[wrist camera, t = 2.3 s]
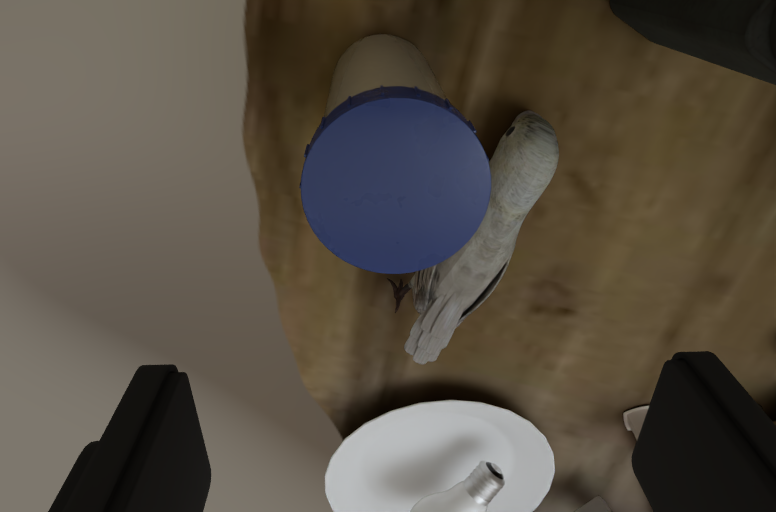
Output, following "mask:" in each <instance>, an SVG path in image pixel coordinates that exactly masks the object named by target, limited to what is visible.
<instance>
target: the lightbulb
mask: <svg viewBox="0 0 776 512" xmlns="http://www.w3.org/2000/svg"><path fill="white" fill-rule="evenodd" d="M504 485H505V480H504V476H503V474H502V471H501V469H500V468H499V467H498V466H497V465H496V464H494V463H491V462H486V461H480V463H479V465H477V466H476V469H474V470H473V472H472V473H470V476H468V477H467V478H466V479H465V480H464V481H461V482H459V483H457V484H456V485H454V486H453V487H452V488H450V489H449V490H446V491H442V492H437V493H433V494H430V495H427V496H425V497H423V498H422V499H420V500H419V501H418V502H417V503H416V504H415V505H414V506H413V507H412V509H411V510H410V512H486V511H487V507H488V504H489V503H490V502H491V500H492V499H493V498H494V496H496V495H497V493H498V492H499V491H500V489H502V488H503V486H504Z"/></svg>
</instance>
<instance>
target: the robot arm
mask: <svg viewBox="0 0 776 512" xmlns="http://www.w3.org/2000/svg"><path fill="white" fill-rule="evenodd" d="M632 467H633V470H634V473H635V475H636V477H637V479H638V481H639V483H640V485H641V487H642V489H643V491H644V493H645V495H646V497H647V499H648V501H649V503H650V505H651V507H652V509H653V511H654V512H776V425H775V424H774V423H773V422H772V421H771V419H770V418H769V417H768V416H767V415H766V414H765V412H764V411H763V410H762V409H761V408H760V407H759V405H758V404H757V403H756V402H755V401H754V400H753V398H752V397H751V396H750V395H749V394H748V392H747V391H746V390H745V389H744V388H743V387H742V385H741V384H740V383H739V382H738V381H737V380H736V378H735V377H734V376H733V375H732V374H731V373H730V371H729V370H728V369H727V368H726V367H725V365H724V364H723V363H722V362H721V361H720V360H719V358H718V357H717V356H716V355H714V354H713V353H711V352H709V351H705V352H678V353H676V354H674V355H673V357H672V359H671V360H667V361H666V362H665V364H664V365H663V368H662V371H661V374H660V377H659V380H658V382H657V385H656V388H655V391H654V394H653V397H652V399H651V402H650V405H649V408H648V411H647V414H646V417H645V419H644V422H643V425H642V428H641V431H640V434H639V437H638V439H637V442H636V445H635V448H634V451H633V454H632ZM210 482H211V468H210V464H209V460H208V455H207V451H206V447H205V444H204V439H203V435H202V432H201V427H200V423H199V420H198V415H197V411H196V407H195V403H194V399H193V395H192V391H191V387H190V383H189V379H188V376H187V374H186V373H185V372H178V370H177V367H176V366H175V365H142V366H140V367H139V368H138V369H137V371H136V373H135V374H134V376H133V378H132V380H131V382H130V384H129V386H128V388H127V390H126V391H125V394H124V395H123V397H122V399H121V401H120V403H119V405H118V407H117V409H116V410H115V412H114V414H113V416H112V418H111V420H110V422H109V424H108V426H107V428H106V430H105V432H104V434H103V435H102V437H101V439H100V441H94V442H91V443H89V444H88V445H87V446H86V447H85V448H84V449H83V451H82V452H81V454H80V455H79V457H78V459H77V460H76V462H75V464H74V466H73V468H72V470H71V471H70V473H69V475H68V477H67V479H66V480H65V482H64V484H63V486H62V488H61V490H60V491H59V493H58V495H57V497H56V499H55V501H54V502H53V504H52V506H51V508H50V510H49V511H48V512H203V510H204V506H205V502H206V499H207V495H208V492H209V488H210Z"/></svg>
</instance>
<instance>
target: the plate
mask: <svg viewBox="0 0 776 512" xmlns="http://www.w3.org/2000/svg"><path fill="white" fill-rule="evenodd" d="M480 461H486V462H491V463H494V464H496V465H497V466H498V467H499V468H500V469H501V471H502V474H503V476H504V480H505V485H504V486H503V488H502V489H500V491H499V492H498V493H497V495H496V496H494V498H493V499H492V500H491V502H490V503H489V504H488V507H487V511H486V512H532V511H534V510H535V509H536V508H537V507H538V506H539V504H540V503H541V501H542V500H543V499H544V497H545V496H546V494H547V493H548V491H549V490H550V486H551V483H552V480H553V477H554V474H555V466H554V454H553V452H552V450H551V448H550V445H549V443H548V441H547V439H546V437H545V436H544V435H543V434H542V433H541V432H540V431H539V430H538V429H537V428H536V427H535V426H534V425H533V424H532V423H531V422H530V421H528V420H526V419H524V418H523V417H521V416H519V415H517V414H515V413H513V412H512V411H510V410H508V409H504V408H501V407H497V406H493V405H490V404H486V403H483V402H474V401H462V400H442V401H431V402H421V403H417V404H413V405H409V406H406V407H402V408H399V409H395V410H391V411H389V412H387V413H385V414H383V415H381V416H379V417H377V418H374V419H372V420H370V421H368V422H366V423H364V424H363V425H362V426H361V427H359V428H358V429H357V430H355V431H354V432H353V433H352V434H350V435H349V436H348V437H346V438H345V439H344V440H343V442H342V443H341V445H340V446H339V447H338V448H337V450H336V451H335V453H334V454H333V455H332V456H331V459H330V462H329V465H328V467H327V471H326V473H325V494H326V496H327V498H328V501H329V503H330V505H331V508H332V510H333V511H334V512H410V510H411V509H412V507H413V506H414V505H415V504H416V503H417V502H418V501H419V500H420V499H422V498H423V497H425V496H427V495H430V494H433V493H437V492H442V491H446V490H449V489H450V488H452V487H453V486H454V485H456V484H457V483H459V482H461V481H464V480H465V479H466V478H467V477H468V476H470V473H472V472H473V470H474V469H476V466H477V465H479V463H480Z"/></svg>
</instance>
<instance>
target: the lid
mask: <svg viewBox="0 0 776 512" xmlns="http://www.w3.org/2000/svg"><path fill="white" fill-rule="evenodd" d="M476 132H477V131H476V130H475V128H474V126H473V125H472V123H471V121H470V120H469V121H467V120H466V119H465V117H464V116H463V115H462V114H461V113H460V112H459V111H458V110H457V109H456V108H455V107H453V106H452V105H451V104H450V102H449V100H448V99H445V100H444V99H442V98H440V97H439V96H437V95H434V94H432V93H430V92H427V91H424V90H421V89H418V87H417V86H414V88H412V87H405V86H388V87H383V85H380V88H375V89H371V90H367V91H364V92H362V93H359V94H357V95H355V96H353V97H351V96H348V99H347V100H346V101H344V102H342V103H341V104H340V105H339V106H337V107H336V108H335V109H333V110H332V111H331V113H330V114H329V115H328V116H327V117H326V118H325V117H323V118H322V121H321V124H320V126H319V127H318V128H317V130H316V132H315V134H314V136H313V138H312V140H311V143H310V145H309V144H307V147H306V150H305V154H304V157H306V159H305V163H304V167H303V171H302V176H301V182H300V188H301V199H302V204H303V209H304V212H305V215H306V217H307V220H308V222H309V224H310V226H311V228H312V230H313V232H314V233H315V234H316V236H317V237H318V239H319V240H320V241H321V242H322V243H323V244H324V245H325V246H326V247H327V248H328V249H329V250H330V251H331V252H332V253H334V254H335V255H336V256H337V257H339V258H341V259H342V260H344V261H345V262H347V263H349V264H351V265H354V266H356V267H359V268H361V269H364V270H368V271H372V272H377V273H386V274H402V273H411V272H415V271H420V270H423V269H426V268H429V267H432V266H434V265H436V264H438V263H441V262H443V261H444V260H446V259H448V258H449V257H451V256H452V255H454V254H455V253H456V252H457V251H459V250H460V249H461V248H462V247H463V246H464V245H465V244H466V243H467V242H468V241H469V240H470V239H471V238H472V236H473V235H474V234H475V232H476V231H477V229H478V228H479V226H480V224H481V222H482V221H483V218H484V216H485V214H486V211H487V208H488V204H489V201H490V194H491V172H490V166H489V162H488V161H489V158H488V156H487V155H486V153H485V151H484V149H483V147H482V144H481V142H480V141H479V139H478V137H477V136H476V134H475V133H476Z"/></svg>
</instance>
